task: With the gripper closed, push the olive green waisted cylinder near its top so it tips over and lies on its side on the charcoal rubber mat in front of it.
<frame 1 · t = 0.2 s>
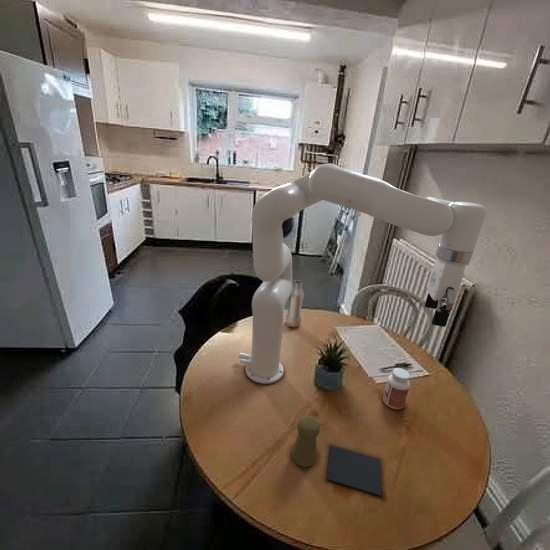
hand: (434, 316, 81), 31 cm above the table, tool pointing down, fingers open, 9 cm apart
olive green waisted cylinder: (304, 455, 76), on the table
pill bottle: (392, 402, 94), on the table
plastic bottle: (292, 325, 131), on the table
mat: (353, 469, 73), on the table
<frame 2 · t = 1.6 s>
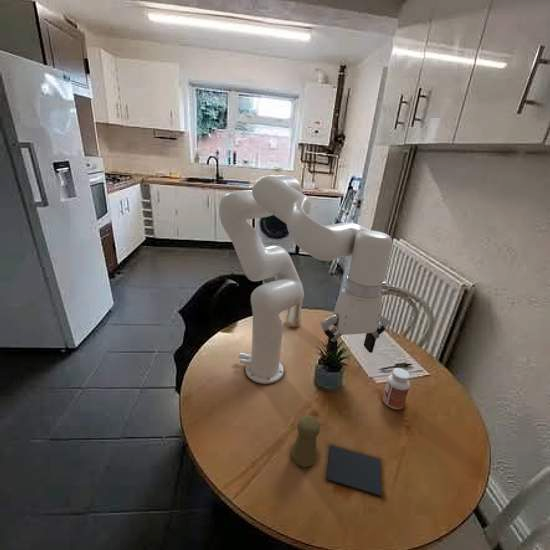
hand: (349, 350, 75), 25 cm above the table, tool pointing down, fingers open, 9 cm apart
nothing on the table moved.
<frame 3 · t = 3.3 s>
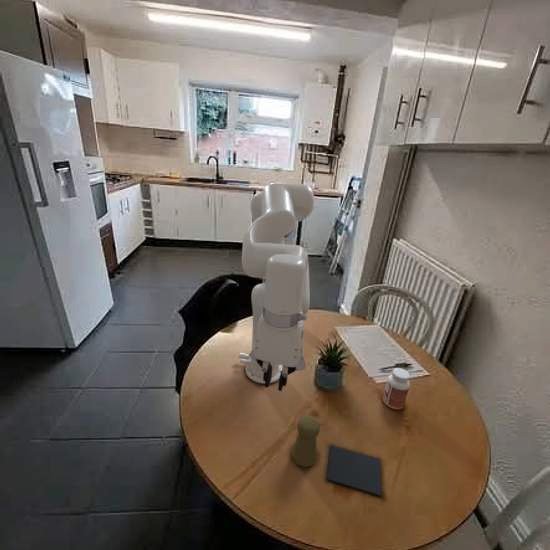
hand: (274, 384, 70), 19 cm above the table, tool pointing down, fingers closed
nothing on the table moved.
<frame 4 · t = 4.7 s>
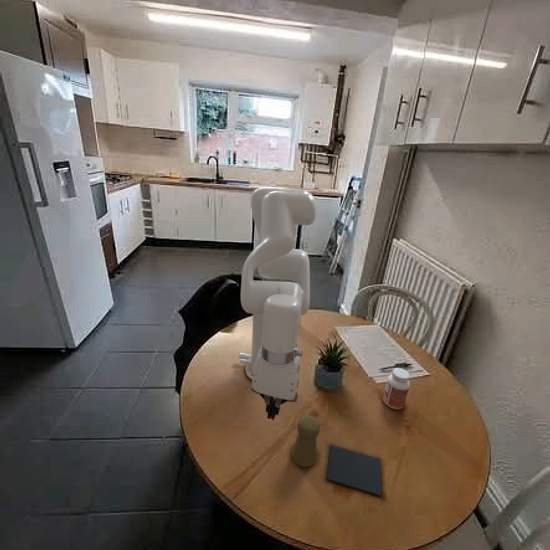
hand: (272, 414, 73), 10 cm above the table, tool pointing down, fingers closed
nothing on the table moved.
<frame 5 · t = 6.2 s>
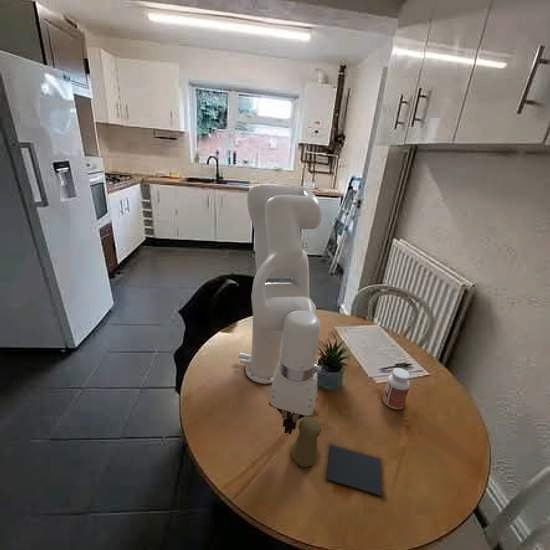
hand: (289, 428, 74), 7 cm above the table, tool pointing down, fingers closed
olive green waisted cylinder: (304, 455, 76), on the table, touching gripper
everything else where it was.
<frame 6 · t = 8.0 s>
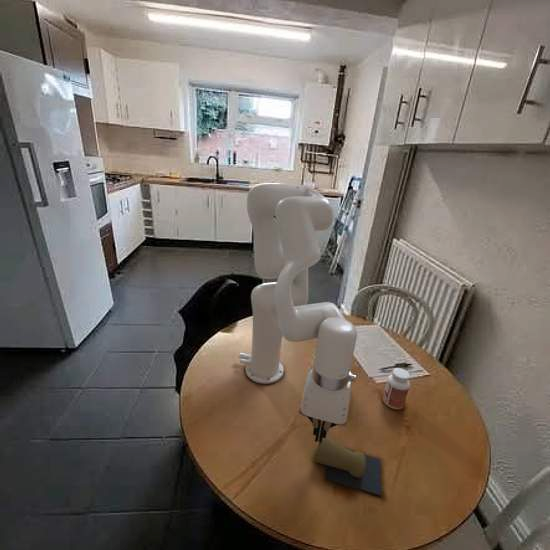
hand: (319, 437, 72), 7 cm above the table, tool pointing down, fingers closed
olive green waisted cylinder: (317, 447, 74), point 3 cm above the table
everything else where it was.
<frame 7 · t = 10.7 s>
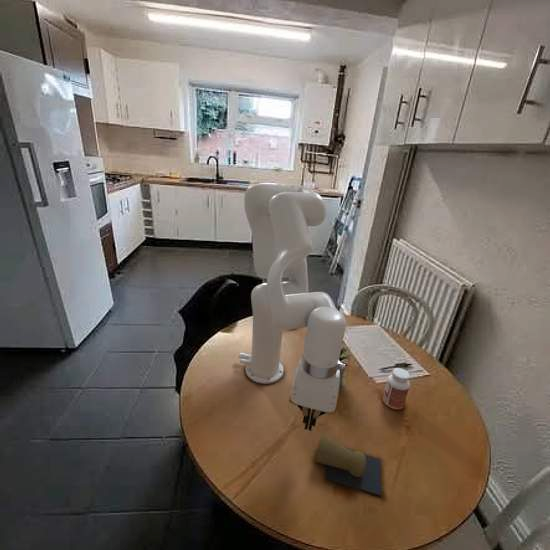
hand: (308, 425, 73), 9 cm above the table, tool pointing down, fingers closed
olive green waisted cylinder: (317, 447, 74), point 3 cm above the table, touching mat
everything else where it was.
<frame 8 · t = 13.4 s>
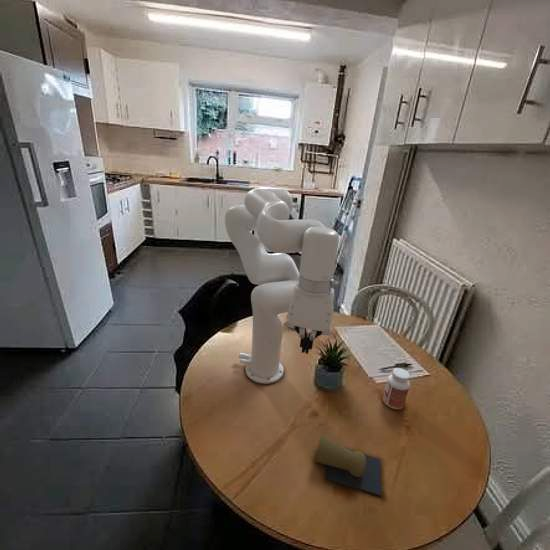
hand: (305, 349, 77), 23 cm above the table, tool pointing down, fingers closed
nothing on the table moved.
at the end: olive green waisted cylinder tilted 90°; olive green waisted cylinder inside the target area (1.3 cm from its centre), point 3.0 cm above the table; olive green waisted cylinder touching mat, table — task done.
